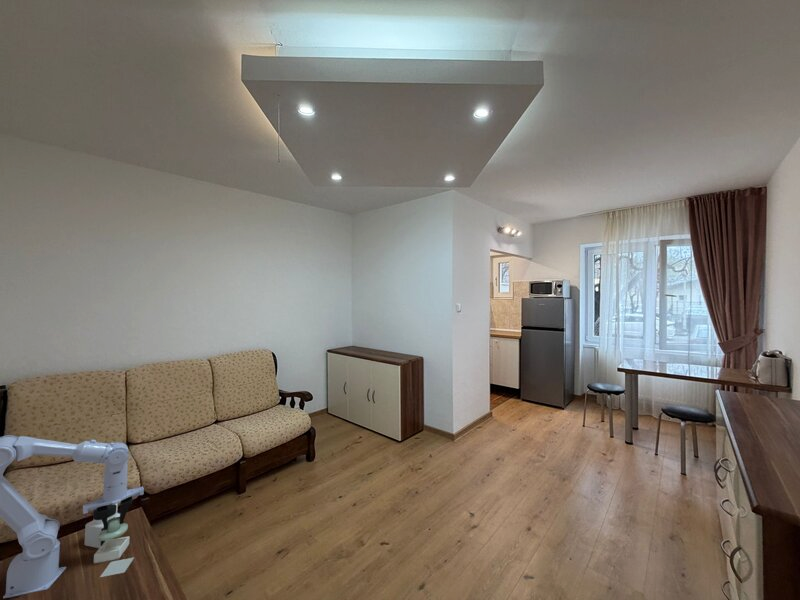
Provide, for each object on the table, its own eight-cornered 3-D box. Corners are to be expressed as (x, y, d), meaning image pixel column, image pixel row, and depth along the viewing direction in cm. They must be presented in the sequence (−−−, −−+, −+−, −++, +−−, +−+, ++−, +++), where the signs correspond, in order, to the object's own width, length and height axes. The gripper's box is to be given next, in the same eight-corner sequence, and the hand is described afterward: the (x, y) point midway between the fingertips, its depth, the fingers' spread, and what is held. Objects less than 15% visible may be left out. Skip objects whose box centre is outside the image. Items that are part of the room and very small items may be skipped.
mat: (99, 578, 92) (99, 577, 92) (110, 563, 98) (110, 561, 98) (124, 573, 94) (124, 572, 94) (134, 558, 100) (134, 557, 100)
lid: (93, 543, 97) (93, 528, 97) (105, 529, 103) (106, 516, 104) (121, 537, 99) (121, 523, 99) (131, 524, 106) (132, 511, 106)
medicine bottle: (100, 549, 103) (102, 512, 104) (83, 546, 105) (85, 509, 105) (123, 534, 110) (125, 499, 111) (107, 531, 112) (109, 497, 112)
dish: (93, 564, 97) (94, 554, 97) (105, 549, 103) (105, 540, 103) (118, 559, 99) (119, 550, 99) (129, 545, 105) (129, 536, 105)
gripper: (85, 497, 94) (82, 543, 94) (146, 478, 105) (144, 520, 104) (83, 488, 99) (81, 532, 98) (142, 471, 109) (140, 510, 109)
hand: (113, 525), depth 102 cm, fingers closed on lid, 3 cm apart
